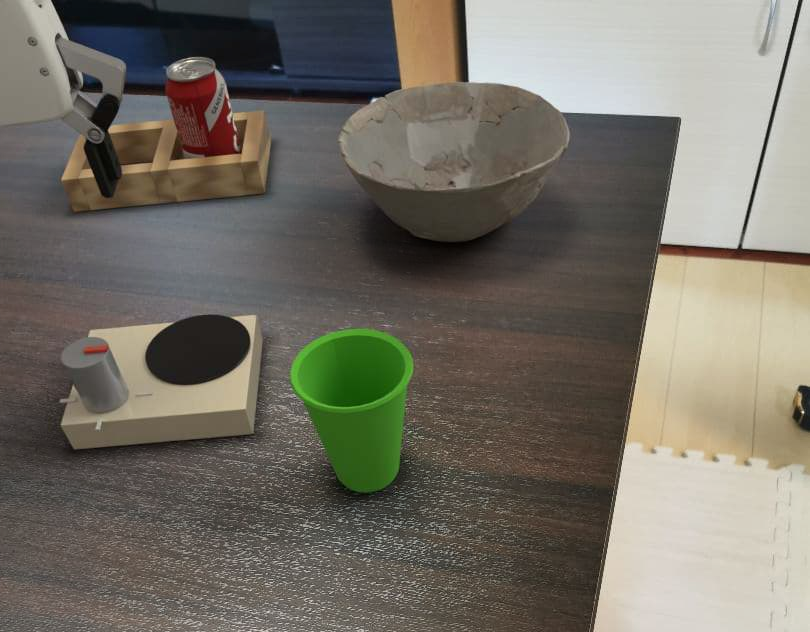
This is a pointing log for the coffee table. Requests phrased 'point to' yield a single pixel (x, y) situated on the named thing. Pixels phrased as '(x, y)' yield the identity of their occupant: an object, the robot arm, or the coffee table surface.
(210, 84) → the soda can
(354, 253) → the coffee table surface
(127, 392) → the knob
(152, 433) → the hob
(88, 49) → the robot arm
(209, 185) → the box
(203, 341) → the burner
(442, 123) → the ceramic bowl
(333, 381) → the cup
